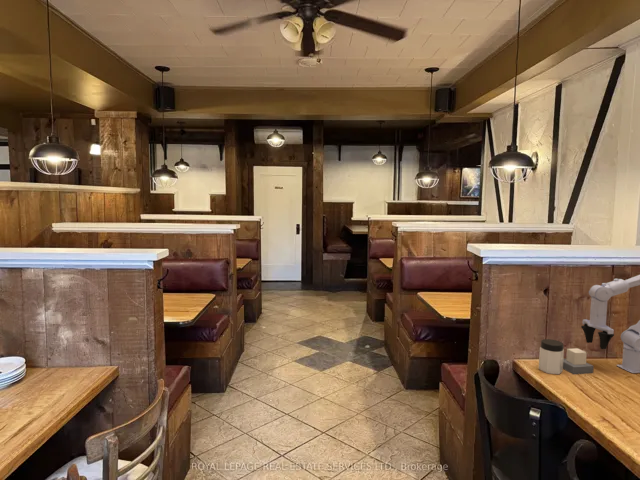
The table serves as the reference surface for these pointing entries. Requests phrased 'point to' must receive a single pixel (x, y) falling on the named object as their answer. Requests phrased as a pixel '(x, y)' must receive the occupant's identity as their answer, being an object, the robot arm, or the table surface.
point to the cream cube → (576, 356)
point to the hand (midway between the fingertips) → (596, 345)
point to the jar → (551, 356)
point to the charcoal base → (577, 368)
